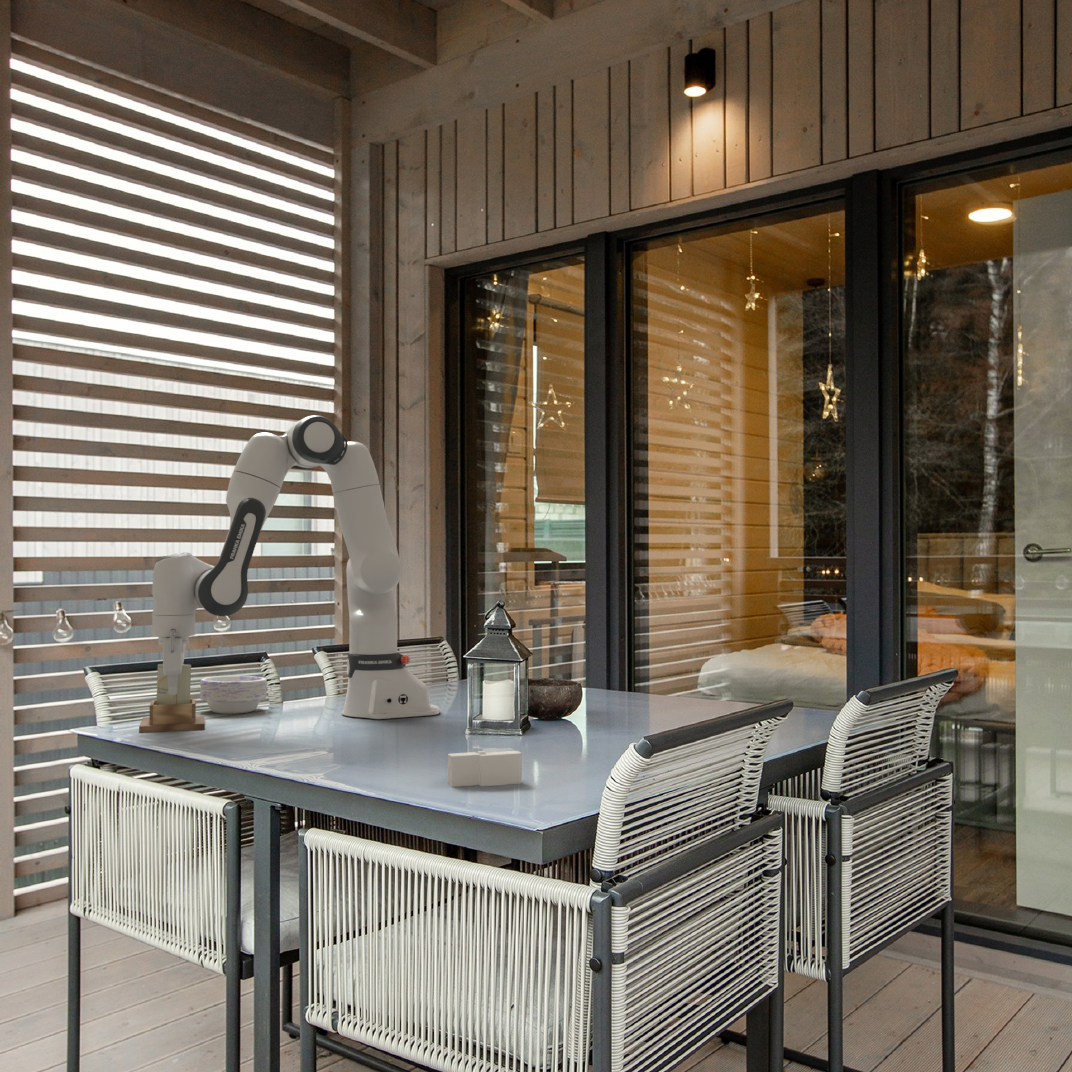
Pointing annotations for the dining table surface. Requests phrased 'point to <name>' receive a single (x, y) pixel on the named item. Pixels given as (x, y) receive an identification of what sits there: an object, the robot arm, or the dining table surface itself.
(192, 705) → the box
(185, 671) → the skincare box
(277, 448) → the robot arm
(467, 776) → the napkin holder
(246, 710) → the paper bowls
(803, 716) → the dining table surface
